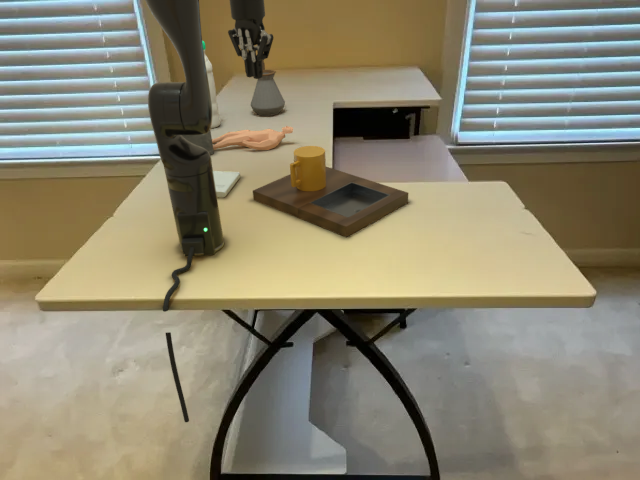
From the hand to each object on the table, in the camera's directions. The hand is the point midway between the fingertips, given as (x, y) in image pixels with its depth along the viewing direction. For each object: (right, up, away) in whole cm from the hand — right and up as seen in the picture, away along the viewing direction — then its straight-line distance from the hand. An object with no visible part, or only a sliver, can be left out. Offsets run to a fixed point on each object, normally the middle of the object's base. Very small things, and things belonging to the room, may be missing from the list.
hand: (254, 77), depth 141 cm
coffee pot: (-3, +16, +64) cm, 66 cm away
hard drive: (-11, -23, +12) cm, 28 cm away
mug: (+12, -25, +3) cm, 28 cm away
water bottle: (-20, +5, +51) cm, 55 cm away
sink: (+22, -31, -2) cm, 39 cm away
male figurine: (-5, -6, +35) cm, 36 cm away
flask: (-22, -10, +31) cm, 39 cm away
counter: (+18, -29, +2) cm, 34 cm away
